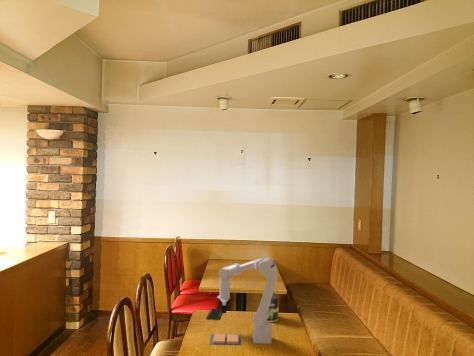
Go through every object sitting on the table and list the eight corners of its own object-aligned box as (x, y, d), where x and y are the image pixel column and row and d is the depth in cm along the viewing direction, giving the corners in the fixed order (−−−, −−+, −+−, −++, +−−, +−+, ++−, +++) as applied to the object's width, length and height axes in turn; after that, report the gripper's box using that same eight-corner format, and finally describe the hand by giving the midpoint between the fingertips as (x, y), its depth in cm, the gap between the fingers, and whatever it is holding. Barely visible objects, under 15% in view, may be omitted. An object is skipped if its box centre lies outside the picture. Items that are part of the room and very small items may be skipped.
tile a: (238, 334, 180) (238, 341, 173) (238, 337, 180) (238, 344, 173) (227, 334, 180) (226, 341, 173) (227, 337, 180) (226, 343, 173)
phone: (205, 318, 200) (211, 308, 215) (205, 320, 200) (211, 309, 215) (218, 319, 199) (223, 309, 214) (218, 321, 199) (223, 310, 214)
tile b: (225, 334, 180) (224, 341, 173) (225, 336, 180) (224, 343, 173) (214, 334, 179) (213, 340, 172) (214, 336, 180) (213, 343, 173)
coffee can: (277, 323, 198) (277, 299, 197) (260, 320, 201) (260, 297, 200) (279, 316, 208) (280, 293, 207) (263, 313, 211) (264, 291, 210)
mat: (241, 335, 182) (241, 334, 182) (242, 346, 171) (242, 345, 171) (210, 334, 182) (210, 334, 182) (209, 345, 171) (209, 344, 171)
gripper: (218, 284, 193) (217, 307, 194) (216, 293, 179) (216, 318, 179) (230, 284, 193) (229, 307, 194) (229, 293, 179) (229, 318, 179)
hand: (224, 312), depth 187 cm, fingers closed
